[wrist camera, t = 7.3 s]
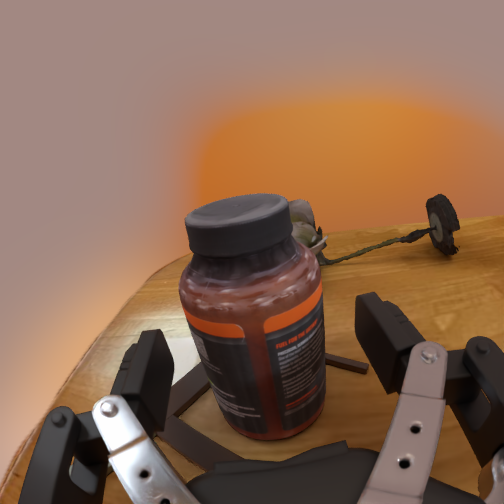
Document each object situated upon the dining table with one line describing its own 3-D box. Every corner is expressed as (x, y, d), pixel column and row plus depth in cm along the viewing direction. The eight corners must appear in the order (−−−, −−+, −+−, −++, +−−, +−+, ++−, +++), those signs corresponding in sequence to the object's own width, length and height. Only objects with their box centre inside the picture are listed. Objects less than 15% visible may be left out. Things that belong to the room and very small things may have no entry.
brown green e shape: (241, 331, 22) (239, 326, 22) (368, 369, 16) (369, 363, 16) (42, 492, 9) (36, 488, 8) (154, 623, 3) (148, 624, 3)
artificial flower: (468, 281, 24) (486, 195, 18) (253, 330, 28) (215, 253, 22) (434, 229, 31) (438, 152, 25) (255, 268, 35) (226, 196, 29)
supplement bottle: (335, 373, 17) (330, 183, 12) (308, 455, 12) (292, 233, 7) (247, 360, 19) (210, 191, 15) (203, 427, 14) (126, 235, 10)
